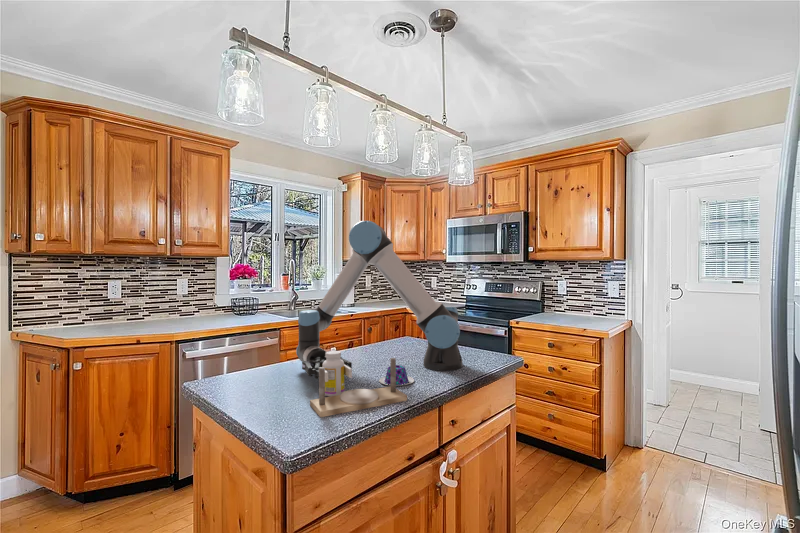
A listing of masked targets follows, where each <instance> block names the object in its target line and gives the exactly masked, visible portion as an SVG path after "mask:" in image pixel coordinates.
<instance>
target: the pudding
mask: <svg viewBox="0 0 800 533" xmlns="http://www.w3.org/2000/svg"><path fill="white" fill-rule="evenodd" d="M384 380H385V381H384ZM408 380H409V381H408ZM378 382H379V383H380V384H383V385H385V386H389V385H391V370H390V366H388V367H387V369H386V374H385V376H382V377H381V378H379V381H378ZM384 382H385V383H387V384H385V383H384ZM408 382H409V383H408ZM414 382H415V379H414V378H413V377H411V376H410V375H408V374H407V370H406V366H404V365H401V364H399V365H398V364H396V387H398V386H399V387H400V386H407V385H410V384H412V383H414ZM404 383H406V384H404ZM388 384H389V385H388ZM402 384H403V385H402Z"/></svg>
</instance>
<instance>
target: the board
mask: <svg viewBox="0 0 800 533" xmlns="http://www.w3.org/2000/svg"><path fill="white" fill-rule="evenodd" d="M389 359H390V360H389V361H390V366H389V367H390V370H391V384H390V385H388V386H384V387H378V388H372V389H369V388H368V389H367V388H354V389H349V390H345V392H343V393H342V394H341V395H337V396H331V397H328V396H325V368H324V367H321V368H319V378H318V398H315V399H310V400H309V406H310V407H311V408H312V410H314V412H315V413H316V414H317V415H318V416H319V417H320V418H324V417H325V418H326V417H329V416H334V415H339V414H344V413H345V414H346V413H350V412H354V411H361V410H365V409H369V408H375V407H380V406H386V405H391V404H396V403H397V404H398V403H400V402H406V401H408V395H407V394H406V393H404V392H402V391H401V390H399V389H397V386H396V365H397V364H396V363H397V361H396V357H391V358H389Z"/></svg>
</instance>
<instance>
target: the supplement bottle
mask: <svg viewBox="0 0 800 533" xmlns="http://www.w3.org/2000/svg"><path fill="white" fill-rule="evenodd" d="M325 354H326V355H325V357H326V360H325V361H324V362H323V364H322V367H324V368H325V370H326V371H327V372H328V382H325V397H331V396H337V395H341V394H342V393H343V392H345V391H346V390H345V386H346V385H345V375H344V361H343V360H341V359H340V357H342V352H341V351H339V350H329V351H326V353H325Z"/></svg>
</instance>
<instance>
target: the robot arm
mask: <svg viewBox="0 0 800 533" xmlns="http://www.w3.org/2000/svg"><path fill="white" fill-rule="evenodd" d="M348 242H349V244H350V246H351V248H352V254H351V256H350V257H349V259H348V260H347V262H346V264H345V265H344V267H343V268H342V269H341V271H340V273H339V274H338V275H337V277H336V279H335V280H334V281H333V283H332V284H331V287H330V288H329V289H328V290H327V292H326V294H325V295H324V296H323V298H322V300H321V301H320V303H319V304H318V306H317V307H316V309H306V310H300V311H299V312H298V320H297V322H298V345H297V347H296V350H295V353H296V356H297V357H298V360H299V361H301V370H304V372H305V373H306V374H307V376H308V377H313V375H314V378H315V379H319V368H321V367H322V364H323V362H324V361H325V360H326V357H325V355H326V354H325V353H326V352H327V350H324V349H323V348H322V347H320V332H323V331H324V330H326V329H329V327H330V326H331V324H332V322H333V321H332V320H333V318H334V317H335V315H337V312H338V311H339V310H340V308H341V306H342V305H343V304H344V302H345V301H346V299H347V298H348V296H349V295H350V293H351V292H352V290H353V289H354V287H355V286H356V284H357V282H358V281H359V279H360V278H361V277H362V275H363V274H364V272H365V270H367V268H368V266H369V265H372V266H374V267H375V268H376V269H377V271H378V272H379V273H380V274H381V275H382V277H384V279H385V280H386V281H387V282H388V284H389V285H390V287H392V289H393V290H394V291H395V292H396V294H397V295H398V296H399V297H400V298H401V300H402V301H403V302H404V303H405V305H406V306H407V308H408V309H409V310H410V311H411V313H413V314H414V316H415V317H416V323H415V324H416V325H417V326H418V328H420V330H421V331H422V332H423V334H424V335H425V338H426V339H427V340H426V341H427V348H426V351H425V354H424V357H423V364H422V365H423V367H424V368H426V369H429V370H432V371H445V372H446V371H447V372H449V371H455V370H456V371H457V370H460V369H462V368H463V359H462V356H461V355H462V354H461V352H460V348H459V337H460V335H461V334H460V333H461V327H460V325H459V321H458V320H459V318H458V317H459V312H458V308H457V307H456V306H455V307H454V306H445V305H444V304H443V302H438V301H435V300H434V299H433V297H432V296H431V295H430V293H429V292H428V291H427V290H426V288H424V286H423V285H422V283H420V281H419V280H418V279H417V278H416V276H415V275H414V274H413V272H411V271H410V269H409V268H408V267H407V266H406V264H405V263H404V262H403V260H401V258H400V256H398V254H397V253H396V252H395V251H394V243H393V242H392V241H391V240H390V239H389V236H387V234H386V232H385V229H384V228H382V226H380V225H379V224H377V223H376V222H373V220H372V221H371V220H361V221H359V222H357V223H355V224H354V225H353V226H352V228H351V230H350V231H349V234H348ZM340 359H341V360H343V361H344V376H346V377H347V378H348V379H352V378H353V373H352V372H353V370H352V369H353V368H352V366H353V365H352V364H353V362H351V361H349V360H347V359H344V358H343V357H342V356H341V357H340ZM325 382H328V372H327V371H326V370H325Z"/></svg>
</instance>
